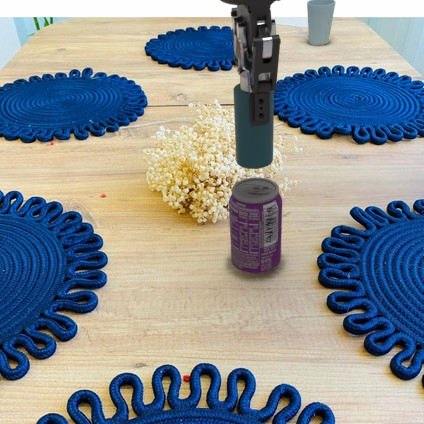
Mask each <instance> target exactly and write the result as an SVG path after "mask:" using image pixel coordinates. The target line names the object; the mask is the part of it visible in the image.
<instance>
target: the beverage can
mask: <svg viewBox="0 0 424 424" xmlns="http://www.w3.org/2000/svg"><path fill="white" fill-rule="evenodd" d="M228 216H229V218H228V219H229V233H230V234H229V237H230V259H231V263H232V265H233V266H234V267H235V268H236V269H237V270H240V271H242V272H244V273H249V274H263V273H268V272H270V271H272V270H274V269H275V268H277V267H278V266H279V264H280V263H281V261H282V229H283V227H282V226H283V198H282V196H281V194H280V187H279V185H278V183H277V182H275V181H273V180H272V179H270V178H266V177H247V178H243V179H241V180H238V181H237V182H235V183H234V184H233V186H232V187H231V195H230V197H229V200H228Z"/></svg>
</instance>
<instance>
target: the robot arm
mask: <svg viewBox="0 0 424 424" xmlns="http://www.w3.org/2000/svg"><path fill="white" fill-rule="evenodd" d="M219 1H220V2H221V3H224V4H227V5H232V6H236V7H231V10H230V17H231V28H232V39H233V53H234V56H233V61H234V63H235V65H236V66H237V67H236V71H237V74H238V76H240V74H241V73H242V72H244V71H247V79H248V86H247V89H248V91H249V121H250V123H251V125H252V126H259V125H266V124H268V123H269V120H270V91H274V92H276V90H277V87H278V83H277V82H278V72H279V61H280V60H279V59H280V52H281V51H280V50H281V44H282V43H281V42H282V40H281V37H280V34H277V23H276V19H275V18H272V11H271V8H272V7H271V6H272V5H273V4H274V3H275V2H280V1H281V0H219ZM262 73H265V80H258V79H259V75H260V74H262Z"/></svg>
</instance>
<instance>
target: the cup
mask: <svg viewBox="0 0 424 424" xmlns="http://www.w3.org/2000/svg"><path fill="white" fill-rule="evenodd" d="M306 8H307V11H306V12H307V29H308V31H307V32H308V43H309V45H313V46H324V45H326V44H328V43H329V42H330V36H331V30H332V24H333V18H334V13H335V8H336V0H308V1H307V2H306Z"/></svg>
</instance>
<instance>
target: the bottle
mask: <svg viewBox="0 0 424 424" xmlns="http://www.w3.org/2000/svg"><path fill="white" fill-rule="evenodd" d="M258 80H265V73H262V74H260V75H259V79H258ZM247 86H248V79H247V71H244V72H242V73H241V74H240V75H239V83H238V84H236V85H234V87H233V111H234V112H233V114H234V138H235V143H234V144H235V162H236V164H237V165H238V166H240V167H241V168H243V169H248V170H249V169H250V170H259V169H264V168H267V167H268V166H270V165H272V163H273V161H274V125H275V124H274V120H275V119H274V118H275V115H274V114H275V111H274V110H275V91H270V120H269V123H268V124H266V125H259V126H252V125H251V123H250V121H249V91H248V89H247Z"/></svg>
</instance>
